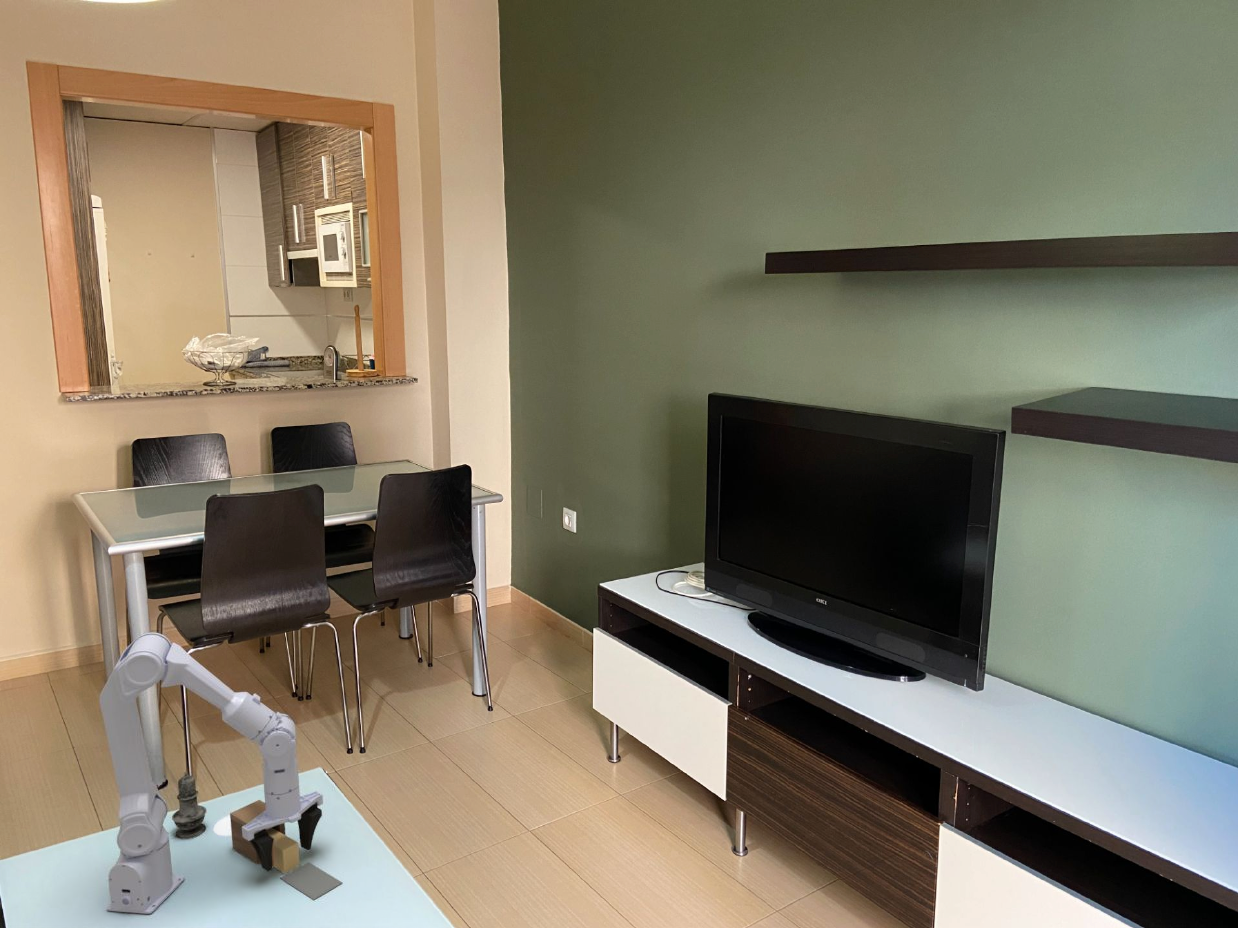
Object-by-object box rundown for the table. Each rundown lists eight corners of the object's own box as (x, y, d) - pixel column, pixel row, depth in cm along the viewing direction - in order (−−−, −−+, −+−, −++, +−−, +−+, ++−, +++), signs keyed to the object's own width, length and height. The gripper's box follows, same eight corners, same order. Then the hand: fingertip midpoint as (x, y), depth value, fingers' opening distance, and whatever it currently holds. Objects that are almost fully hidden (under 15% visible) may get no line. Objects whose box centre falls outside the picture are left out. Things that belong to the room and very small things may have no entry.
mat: (313, 900, 149) (313, 898, 149) (280, 878, 154) (280, 877, 154) (342, 883, 153) (342, 882, 153) (308, 862, 159) (308, 861, 159)
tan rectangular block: (284, 874, 156) (282, 850, 155) (245, 850, 163) (244, 827, 162) (299, 865, 159) (298, 842, 158) (261, 842, 166) (259, 820, 165)
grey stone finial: (213, 830, 169) (208, 771, 167) (181, 843, 165) (175, 783, 163) (200, 818, 173) (195, 761, 171) (168, 831, 169) (163, 772, 167)
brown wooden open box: (258, 865, 158) (255, 828, 157) (232, 848, 163) (229, 813, 162) (287, 849, 163) (285, 814, 162) (262, 834, 168) (259, 799, 167)
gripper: (255, 812, 148) (261, 887, 150) (331, 776, 159) (335, 846, 161) (232, 798, 152) (238, 871, 154) (307, 764, 163) (312, 833, 165)
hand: (286, 857), depth 158 cm, fingers open, 7 cm apart
